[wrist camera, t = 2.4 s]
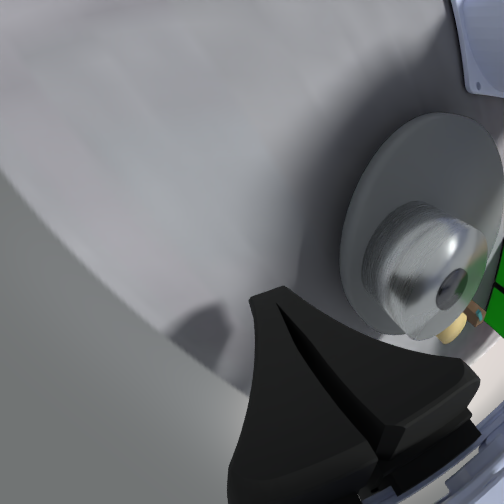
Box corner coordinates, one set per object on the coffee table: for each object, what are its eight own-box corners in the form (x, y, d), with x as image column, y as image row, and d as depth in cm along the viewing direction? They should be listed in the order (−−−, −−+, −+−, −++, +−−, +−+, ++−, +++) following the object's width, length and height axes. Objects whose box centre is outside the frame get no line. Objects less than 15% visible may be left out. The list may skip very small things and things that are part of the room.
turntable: (496, 113, 12) (537, 124, 9) (475, 283, 18) (503, 305, 15) (328, 120, 10) (381, 129, 7) (338, 353, 16) (364, 392, 13)
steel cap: (446, 191, 12) (499, 217, 9) (434, 280, 14) (474, 313, 11) (361, 215, 11) (417, 253, 8) (359, 315, 13) (397, 360, 11)
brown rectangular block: (463, 283, 19) (489, 304, 17) (458, 301, 20) (483, 322, 17) (452, 290, 19) (478, 312, 16) (447, 307, 20) (472, 330, 17)
